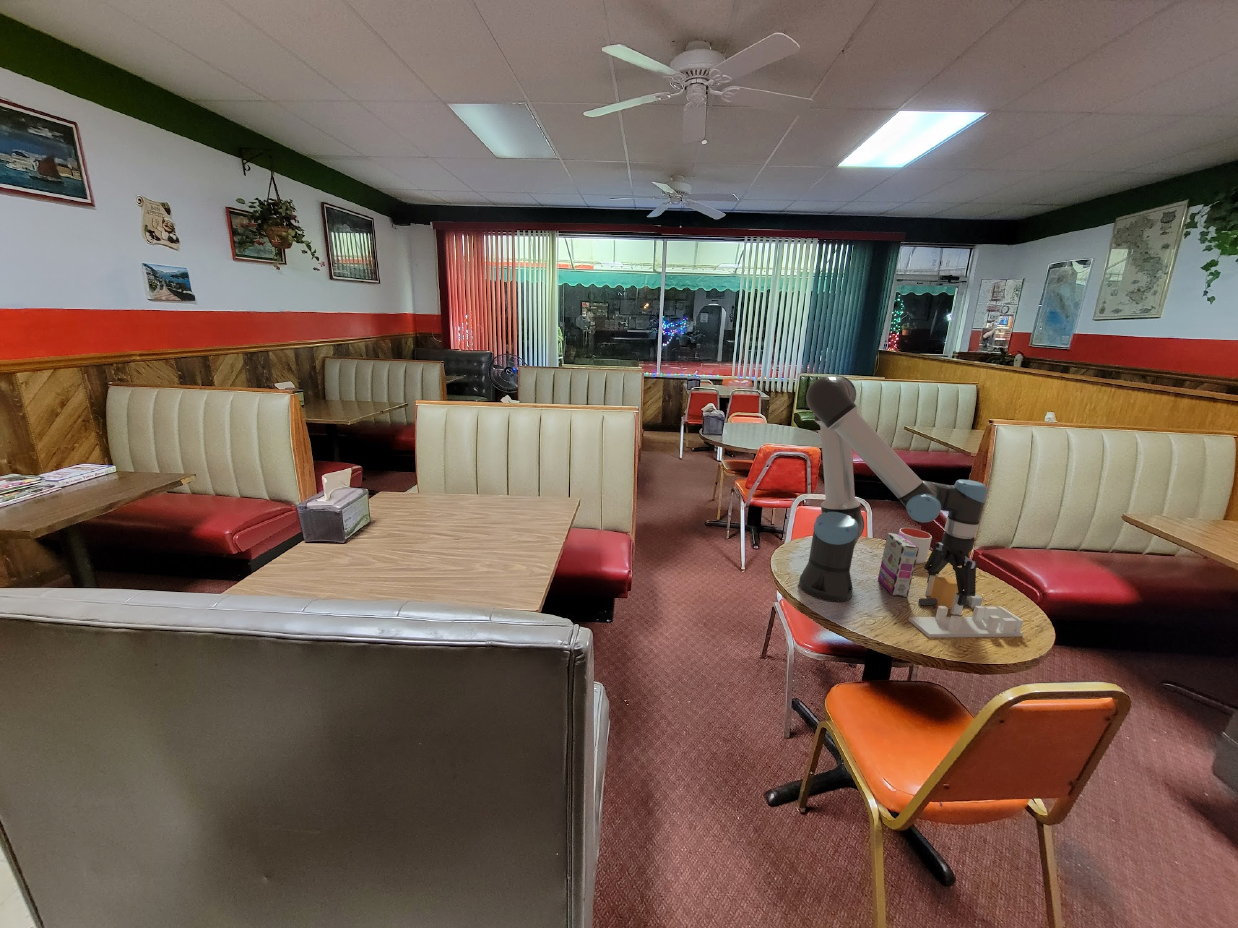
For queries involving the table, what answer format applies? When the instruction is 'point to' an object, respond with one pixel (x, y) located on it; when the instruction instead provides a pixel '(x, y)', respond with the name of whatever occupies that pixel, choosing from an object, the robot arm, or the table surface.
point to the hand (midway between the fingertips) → (942, 604)
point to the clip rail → (971, 623)
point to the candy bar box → (898, 564)
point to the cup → (918, 542)
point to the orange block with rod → (947, 594)
